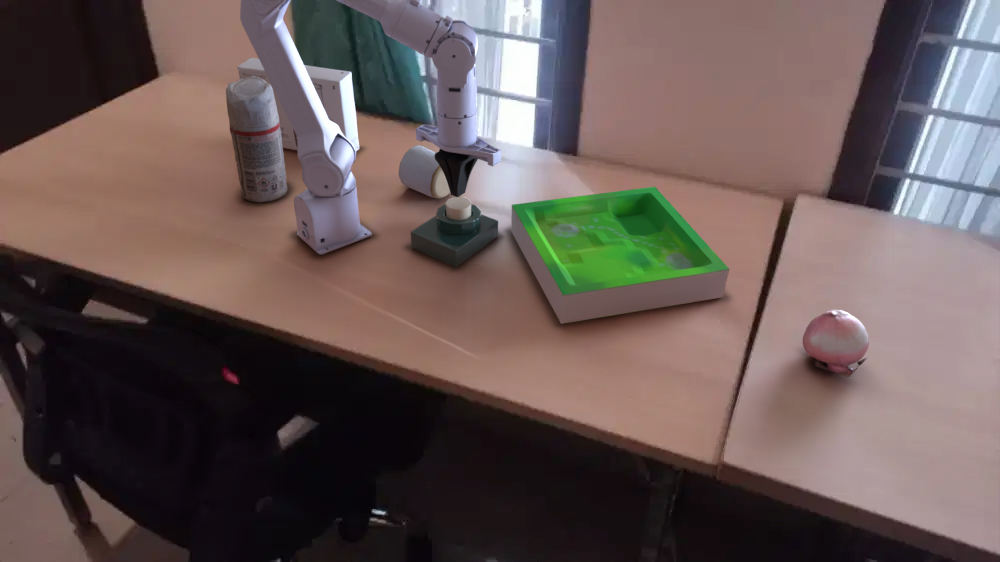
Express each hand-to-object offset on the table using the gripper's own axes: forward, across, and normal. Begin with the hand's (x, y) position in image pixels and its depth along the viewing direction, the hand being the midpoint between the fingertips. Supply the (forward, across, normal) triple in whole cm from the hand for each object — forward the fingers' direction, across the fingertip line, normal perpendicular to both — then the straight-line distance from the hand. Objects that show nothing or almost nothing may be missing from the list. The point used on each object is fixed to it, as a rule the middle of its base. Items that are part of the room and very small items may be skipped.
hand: (458, 193), depth 119 cm
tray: (+8, -23, -9) cm, 26 cm away
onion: (+8, -57, -6) cm, 58 cm away
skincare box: (+9, +44, -8) cm, 46 cm away
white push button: (+4, 0, 0) cm, 4 cm away
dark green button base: (+8, 0, +1) cm, 8 cm away
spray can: (+9, +37, +8) cm, 39 cm away
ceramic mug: (+9, +14, -11) cm, 19 cm away
